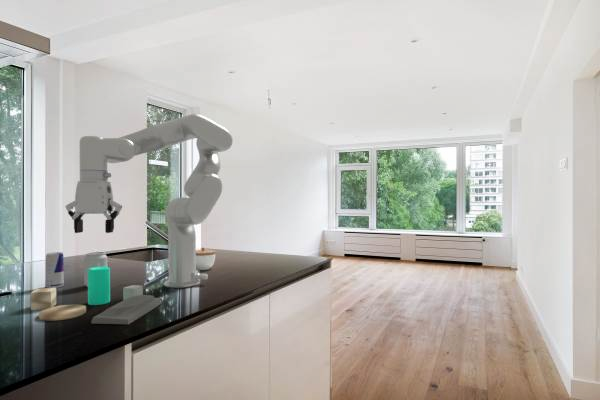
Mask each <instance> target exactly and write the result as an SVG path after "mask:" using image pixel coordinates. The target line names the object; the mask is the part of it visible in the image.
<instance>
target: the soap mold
mask: <svg viewBox="0 0 600 400" xmlns="http://www.w3.org/2000/svg"><path fill="white" fill-rule="evenodd" d="M162 304H163V301H162V297H155V296H154V295H149V294H143V295H139V296H135V297H130V298H127V299H125V300H122V301H120V302H117V303H116V304H114V305H112V306H109V307H108V308H106V309H105V310H104V311H103V312H100V313H99V314H97V315H95V316H93V317H92V318H91V322H90V323H91V324H95V325H96V324H101V325H103V324H104V325H106V324H107V325H130V324H131V323H133V322H135V321H136V320H138V319H139V318H141V317H143V316H144V315H146V314H147V313H149V312H151V311H152V310H153V309H156V308H157V307H158V306H160V305H162Z"/></svg>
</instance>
